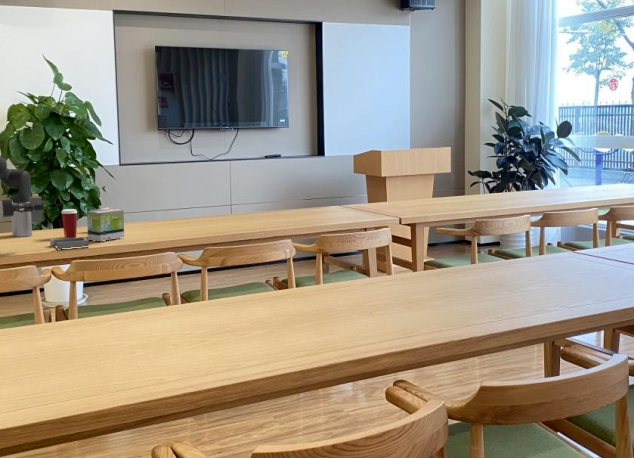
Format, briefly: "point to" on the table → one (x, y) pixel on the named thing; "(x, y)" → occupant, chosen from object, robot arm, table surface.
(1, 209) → the robot arm
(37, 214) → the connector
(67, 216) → the paper cup
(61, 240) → the end holder
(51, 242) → the cable clip
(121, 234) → the tea box
